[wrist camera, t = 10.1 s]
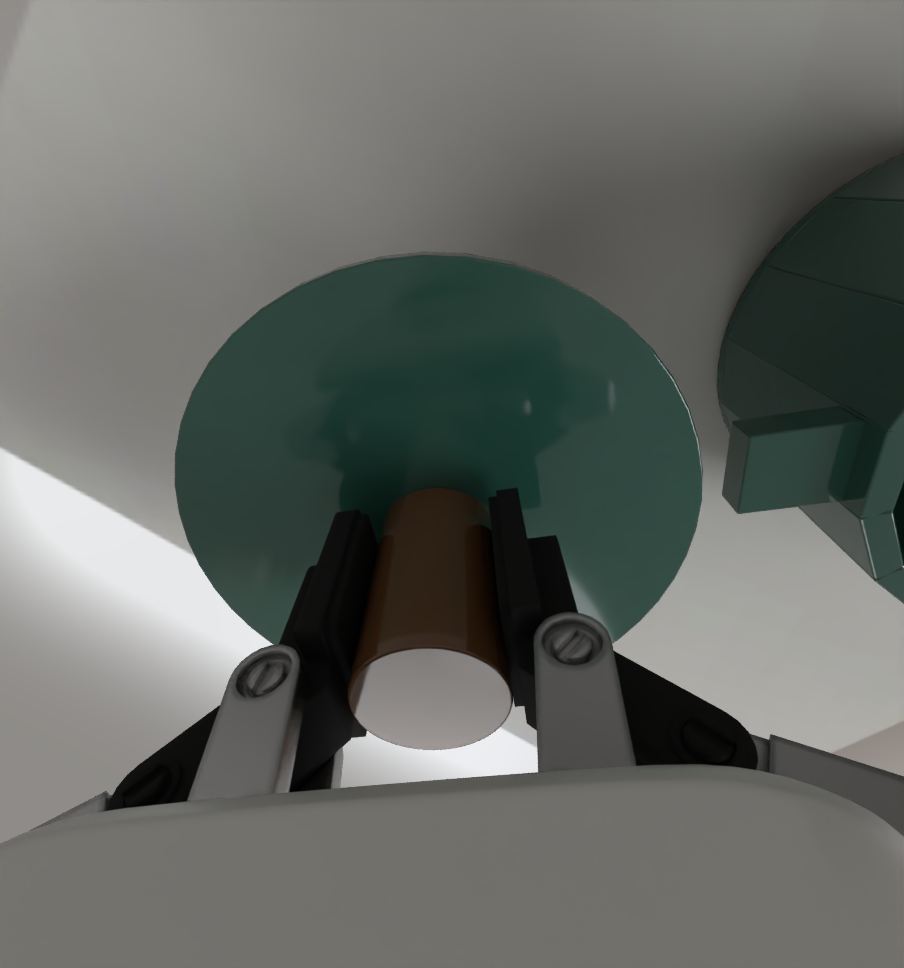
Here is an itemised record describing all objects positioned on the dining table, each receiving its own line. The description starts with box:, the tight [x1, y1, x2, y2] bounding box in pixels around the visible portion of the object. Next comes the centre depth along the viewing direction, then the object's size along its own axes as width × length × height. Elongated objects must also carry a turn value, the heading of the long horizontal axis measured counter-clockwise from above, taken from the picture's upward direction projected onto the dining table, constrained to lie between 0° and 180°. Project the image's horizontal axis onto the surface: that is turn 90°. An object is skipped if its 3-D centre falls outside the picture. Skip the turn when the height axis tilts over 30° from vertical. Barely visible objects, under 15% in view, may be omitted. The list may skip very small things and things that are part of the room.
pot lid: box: [175, 252, 703, 750], centre depth 12 cm, size 14×14×6 cm
